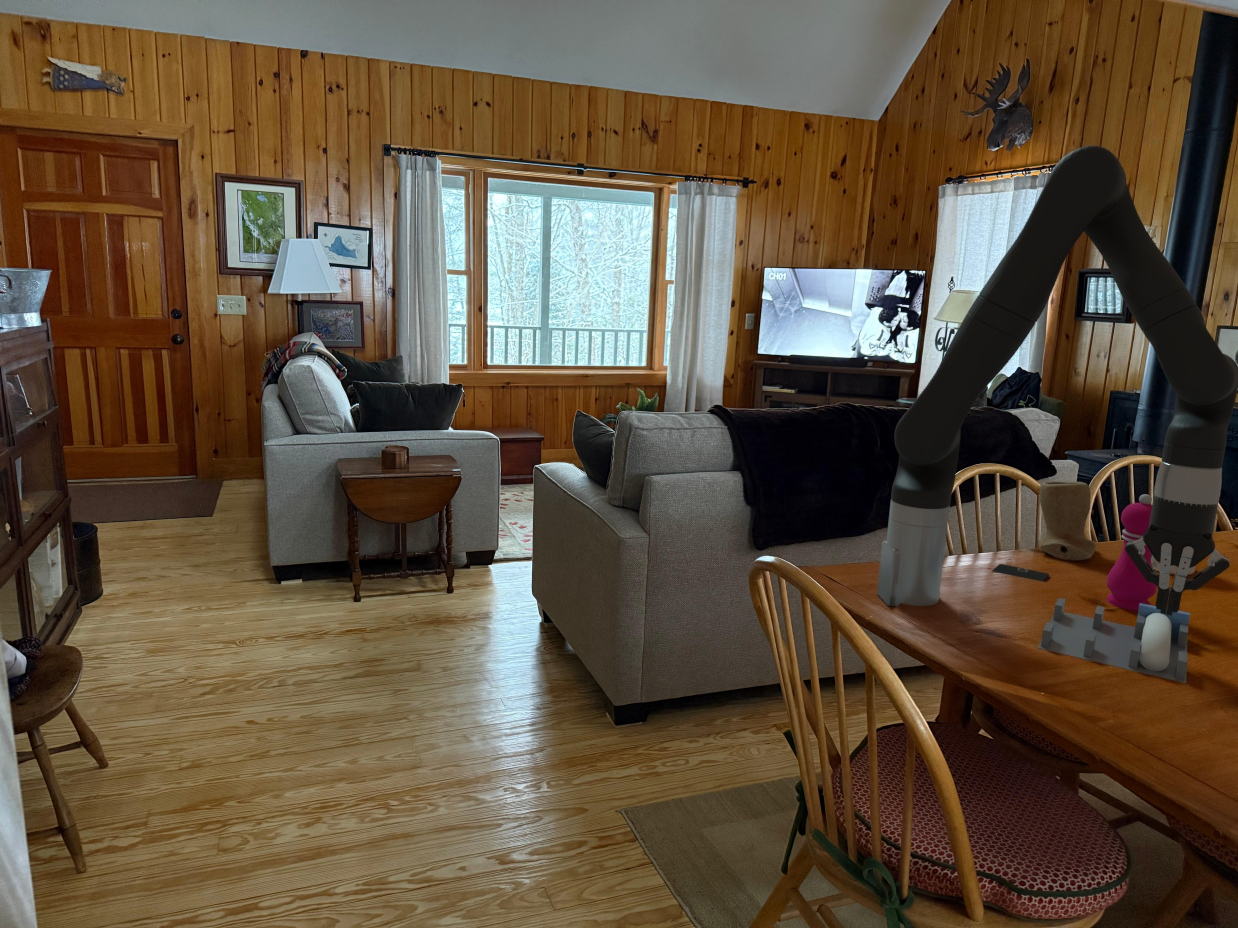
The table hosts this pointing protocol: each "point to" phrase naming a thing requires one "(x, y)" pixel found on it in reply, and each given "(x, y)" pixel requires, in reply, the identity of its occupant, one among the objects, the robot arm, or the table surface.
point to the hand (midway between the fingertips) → (1166, 613)
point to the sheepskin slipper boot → (1066, 519)
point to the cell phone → (1021, 572)
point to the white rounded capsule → (1155, 642)
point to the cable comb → (1114, 640)
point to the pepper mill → (1124, 574)
